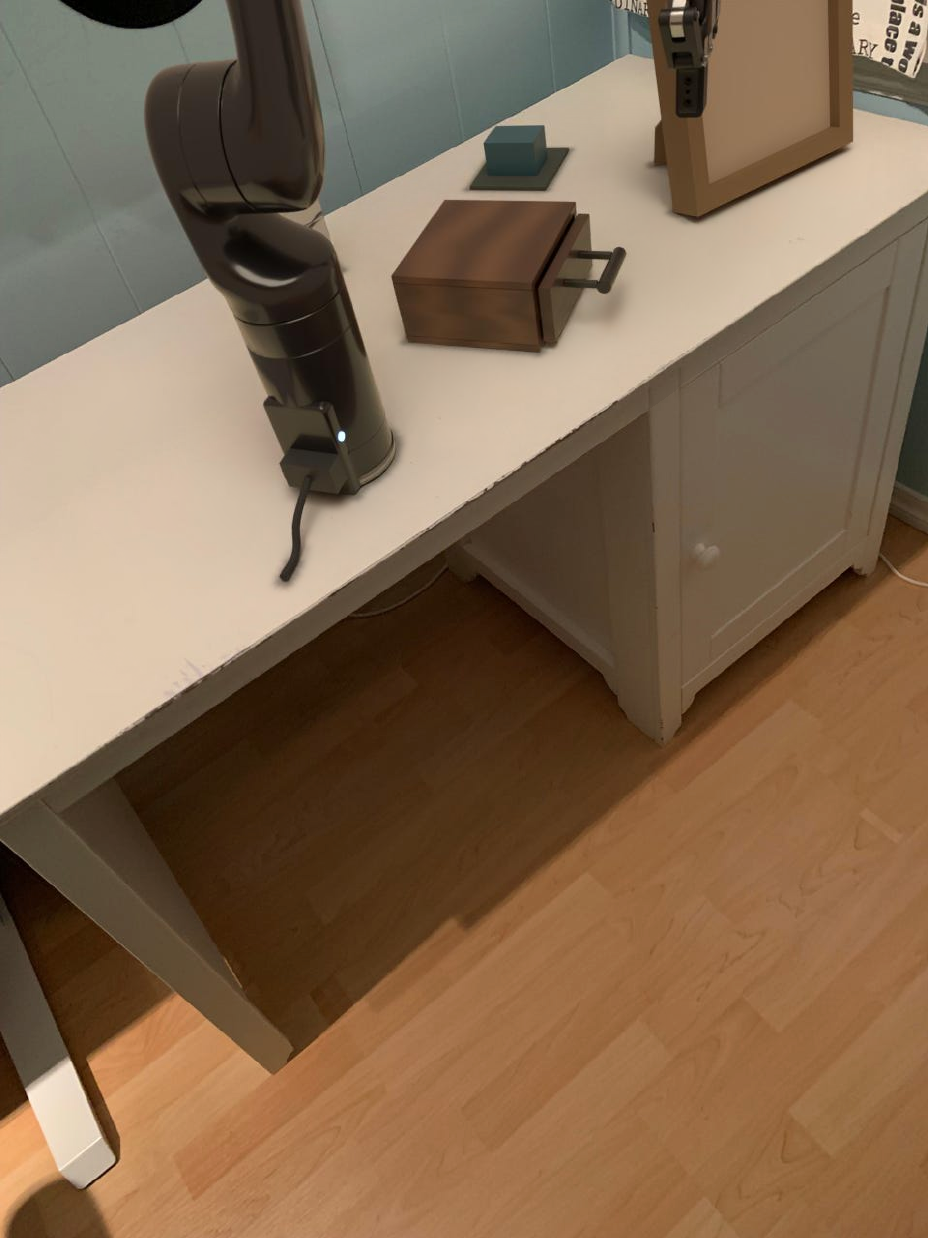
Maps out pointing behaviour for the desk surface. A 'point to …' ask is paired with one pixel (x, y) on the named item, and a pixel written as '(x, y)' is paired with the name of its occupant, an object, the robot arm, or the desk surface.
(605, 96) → the desk surface
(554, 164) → the mat
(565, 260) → the drawer
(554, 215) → the cabinet
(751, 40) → the photo frame
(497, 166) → the card box
